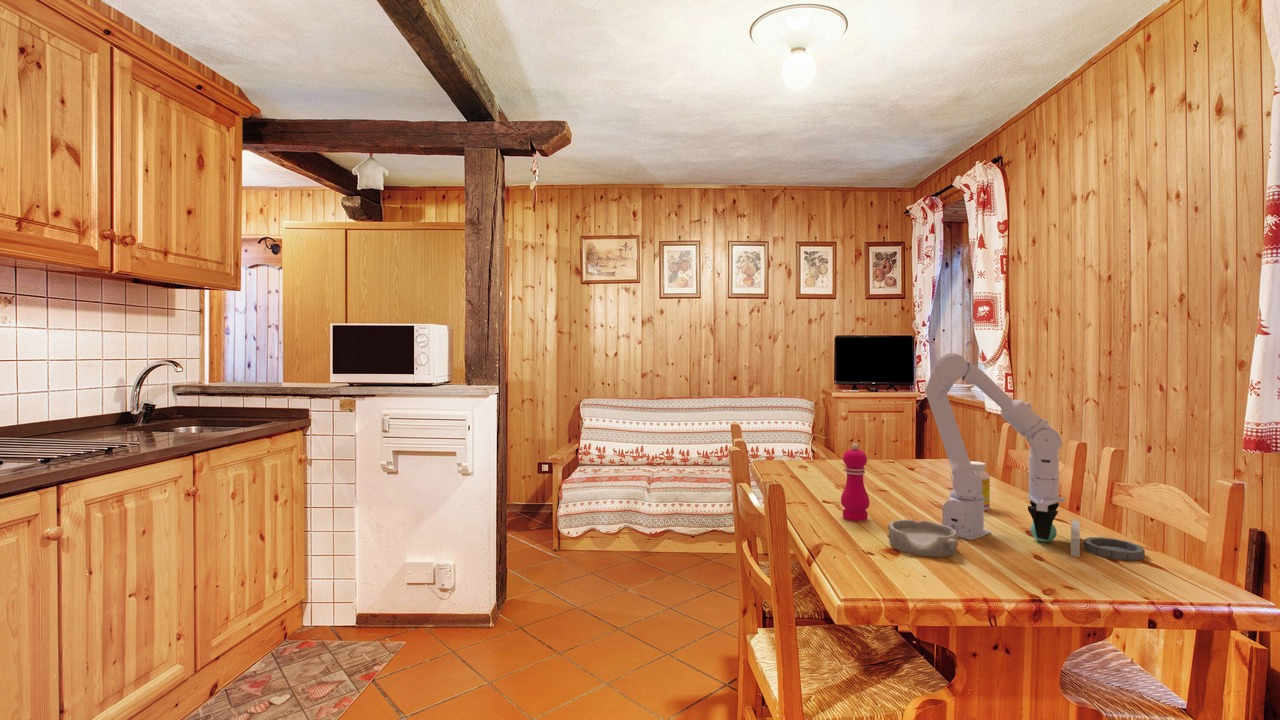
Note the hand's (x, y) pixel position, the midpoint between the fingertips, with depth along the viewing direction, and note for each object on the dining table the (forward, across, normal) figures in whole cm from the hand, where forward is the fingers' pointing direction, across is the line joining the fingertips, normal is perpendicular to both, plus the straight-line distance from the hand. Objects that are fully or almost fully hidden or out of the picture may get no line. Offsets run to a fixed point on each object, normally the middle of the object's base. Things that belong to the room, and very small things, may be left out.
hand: (1043, 535), depth 134 cm
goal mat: (+1, 0, -13) cm, 13 cm away
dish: (+2, -21, +22) cm, 30 cm away
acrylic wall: (+1, 0, -6) cm, 6 cm away
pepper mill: (+2, -6, +41) cm, 42 cm away
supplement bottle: (+2, +23, +16) cm, 28 cm away
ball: (-1, 0, 0) cm, 1 cm away
